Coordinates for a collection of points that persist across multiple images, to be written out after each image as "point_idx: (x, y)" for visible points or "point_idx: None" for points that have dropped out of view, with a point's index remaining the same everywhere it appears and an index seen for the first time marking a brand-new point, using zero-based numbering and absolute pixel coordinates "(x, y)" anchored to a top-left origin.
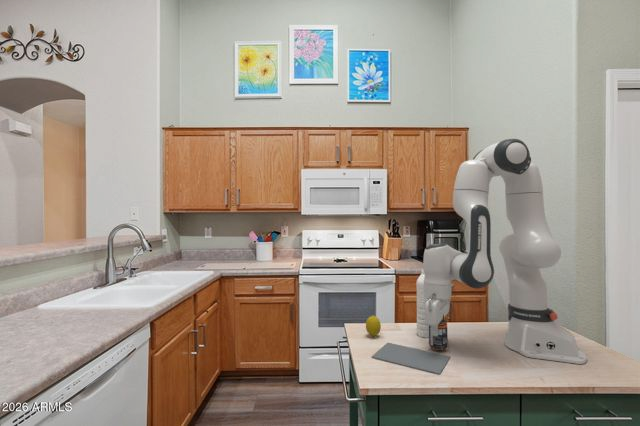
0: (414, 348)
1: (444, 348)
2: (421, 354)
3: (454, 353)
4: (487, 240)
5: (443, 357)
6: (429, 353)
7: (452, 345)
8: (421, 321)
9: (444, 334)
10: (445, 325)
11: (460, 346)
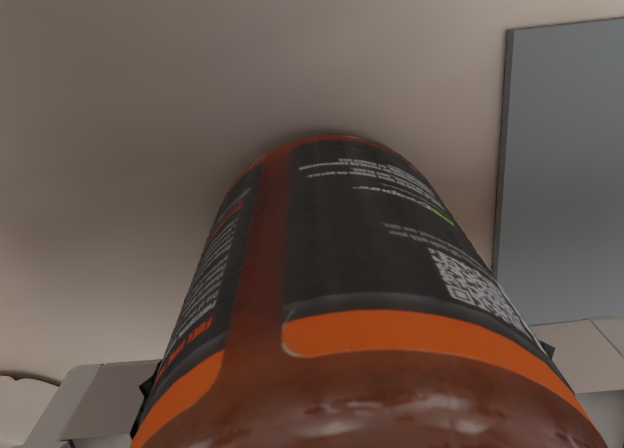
0: None
1: (396, 153)
2: (622, 307)
3: (339, 21)
4: None
5: (605, 89)
6: (557, 256)
7: (80, 130)
8: None
9: (448, 241)
10: (471, 365)
11: (24, 27)
